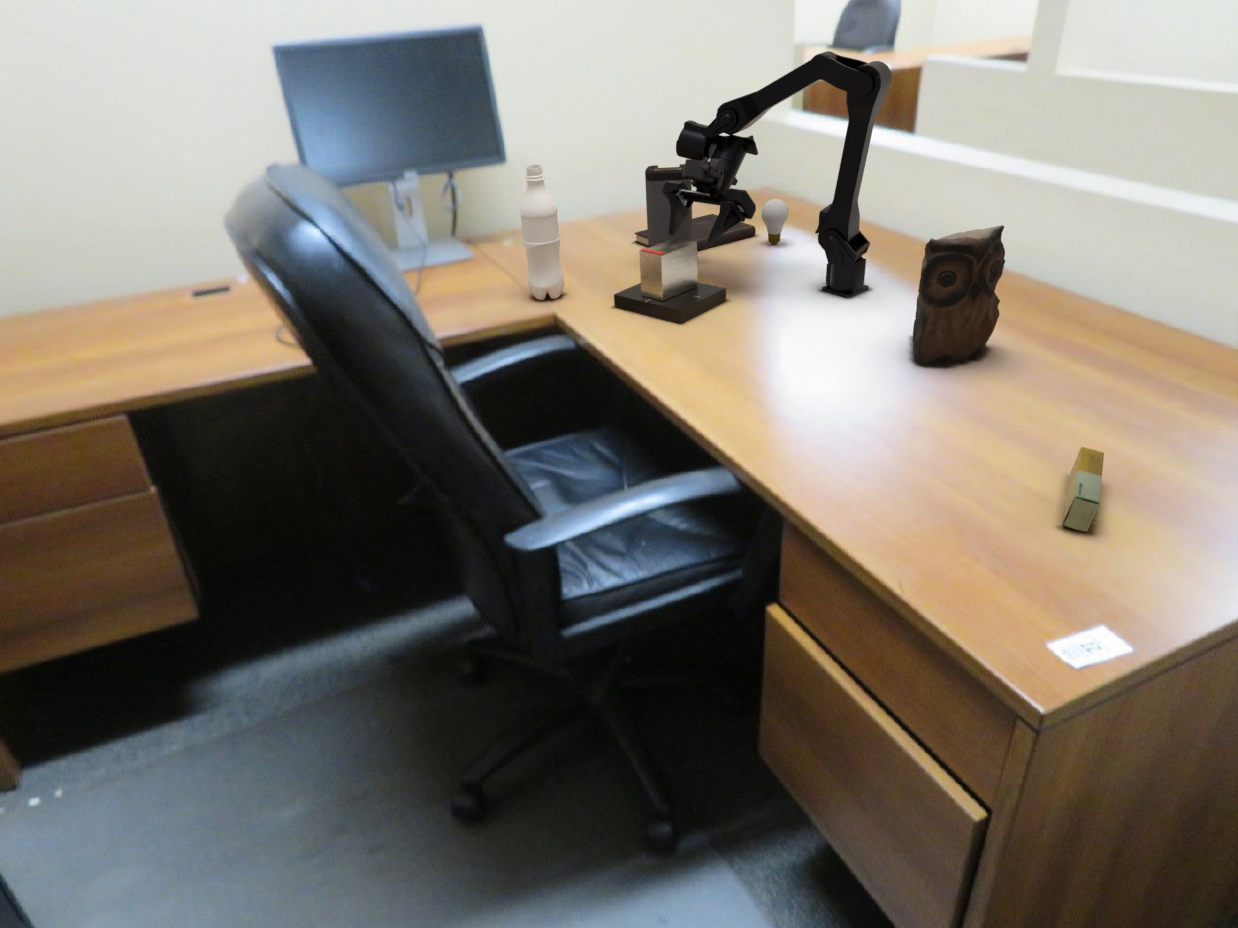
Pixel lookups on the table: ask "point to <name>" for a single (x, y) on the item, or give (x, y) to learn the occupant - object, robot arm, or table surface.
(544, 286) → the water bottle
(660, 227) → the electronic device
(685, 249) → the brushed aluminum block
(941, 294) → the owl
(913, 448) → the table surface
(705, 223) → the hardcover book
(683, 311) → the dial plate
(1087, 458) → the medication box
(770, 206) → the light bulb
